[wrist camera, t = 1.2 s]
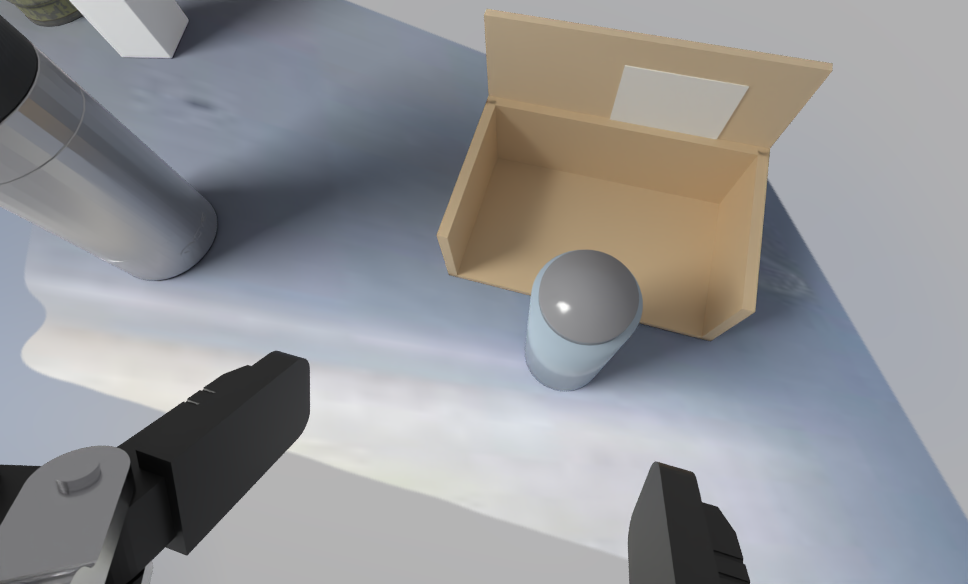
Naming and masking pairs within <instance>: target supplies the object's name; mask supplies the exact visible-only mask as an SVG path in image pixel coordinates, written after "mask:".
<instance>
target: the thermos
mask: <svg viewBox="0 0 968 584" xmlns="http://www.w3.org/2000/svg"><path fill="white" fill-rule="evenodd" d="M7 1H9V2H11V3H12V4H14V5H15V6H17V7H18V8H19V9H20V10H21V11H22V12H23V13H24V14H25V16H26V17H27V18H28V19H29V20H30V21H32V22H34V23H35V24H37V25H41V26H47V27H49V26H59V25H62V24H66V23H69V22H71V21H73V20H75V19H77V18H79V17H81V16H83V15H82V14H81V13H80V11H79V10H78V9H77V8H76V7H75V6H74V5H73V4H72V3H71V2H70V1H69V0H7Z"/></svg>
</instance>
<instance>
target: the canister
mask: <svg viewBox="0 0 968 584" xmlns="http://www.w3.org/2000/svg"><path fill="white" fill-rule="evenodd" d="M642 309H643V299H642V293H641V290H640V287H639V285H638V282H637V280H636V279H635V277H634V276H633V274H632V273H631V272H630V270H629V269H628V268H627V267H626V266H625V265H624V264H623V263H622V262H620V261H619V260H618V259H616V258H614V257H613V256H611V255H609V254H606V253H604V252H600V251H595V250H574V251H569V252H566V253H563V254H560V255H558V256H556V257H555V258H553V259H551V260H550V261H549V262H548V263H546V264H545V265H544V267H543V268H542V269H541V270H540V272H539V273H538V275H537V276H536V278H535V281H534V283H533V287H532V292H531V300H530V308H529V317H528V325H527V334H526V343H525V360H526V363H527V366H528V368H529V370H530V372H531V374H532V375H533V376H534V377H535V378H536V380H538V381H539V382H540V383H541V384H543V385H544V386H546V387H548V388H551V389H553V390H558V391H572V390H576V389H579V388H581V387H583V386H585V385H586V384H588V383H589V382H590V381H591V380H592V379H593V378H594V377H595V376H596V375H597V374H598V372H599V371H600V370H601V369H602V368H603V367H604V366H605V365H606V363H607V362H608V361H609V360H610V359H611V358H612V357H613V355H614V354H615V353H616V352H617V351H618V350H619V349H620V348H621V346H622V345H623V344H624V343H625V342H626V341H627V340H628V338H629V337H630V336H631V335H632V334H633V333H634V331H635V330H636V328H637V326H638V324H639V322H640V319H641V315H642Z"/></svg>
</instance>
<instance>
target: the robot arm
mask: <svg viewBox="0 0 968 584" xmlns="http://www.w3.org/2000/svg"><path fill="white" fill-rule="evenodd" d="M0 207H2V208H4V209H6V210H8V211H10V212H12V213H14V214H16V215H18V216H20V217H21V218H23V219H25V220H27V221H29V222H31V223H33V224H35V225H37V226H39V227H40V228H42V229H44V230H46V231H48V232H50V233H52V234H54V235H56V236H58V237H60V238H62V239H64V240H65V241H67V242H69V243H71V244H73V245H75V246H77V247H79V248H81V249H83V250H85V251H87V252H89V253H90V254H92V255H94V256H96V257H98V258H100V259H102V260H103V261H105V262H107V263H109V264H111V265H113V266H115V267H117V268H119V269H121V270H123V271H125V272H127V273H128V274H130V275H132V276H134V277H137V278H140V279H143V280H154V281H155V280H163V279H168V278H171V277H174V276H177V275H179V274H181V273H183V272H185V271H187V270H188V269H189V268H191V267H192V266H194V265H195V264H196V263H197V262H198V261H199V260H200V259H201V258H202V257H203V256H204V255H205V254H206V252H207V251H208V250H209V248H210V247H211V245H212V243H213V240H214V238H215V235H216V230H217V216H216V213H215V210H214V208H213V207H212V205H211V204H210V203H209V202H208V201H207V200H206V199H205V198H204V197H203V196H202V195H201V194H200V193H198V192H197V191H196V190H195V189H194V188H193V187H192V186H191V185H190V184H189V183H187V182H186V181H185V180H184V179H183V178H182V177H181V176H180V175H179V174H178V173H177V172H176V171H174V170H173V169H172V168H171V167H170V166H169V165H168V164H167V163H166V162H164V161H163V160H162V159H161V158H160V157H159V156H158V155H157V154H156V153H154V152H153V151H152V150H151V149H150V148H149V147H148V146H147V145H146V144H144V143H143V142H142V141H141V140H140V139H139V138H138V137H137V136H136V135H134V134H133V133H132V132H131V131H130V130H129V129H128V128H127V127H125V126H124V125H123V124H122V123H121V122H120V121H119V120H118V119H117V118H115V117H114V116H113V115H112V114H111V113H110V112H109V111H108V110H107V109H105V108H104V107H103V106H102V105H101V104H100V103H99V102H98V101H97V100H95V99H94V98H93V97H92V96H91V95H90V94H89V93H88V92H86V91H85V90H84V89H83V88H82V87H81V86H80V85H79V84H78V83H76V82H75V81H74V80H73V79H72V78H71V77H69V76H68V75H67V74H66V73H65V72H64V71H63V70H62V69H61V68H59V67H58V66H57V65H56V64H55V63H54V62H53V61H52V60H50V59H49V58H48V57H47V56H46V55H45V54H44V53H43V52H42V51H40V50H39V49H38V48H37V47H36V46H35V45H34V44H33V43H32V42H30V41H29V40H28V39H27V38H26V37H25V36H24V35H22V34H21V33H20V32H19V31H18V30H17V29H16V28H14V27H13V26H12V25H11V24H10V23H9V22H8V21H6V20H5V19H4V18H3V17H2V16H1V15H0ZM309 414H310V367H309V363H308V361H307V360H306V359H304V358H301V357H297V356H294V355H290V354H287V353H283V352H280V351H273V352H271V353H269V354H268V355H266V356H265V357H264V358H262V359H261V360H259V361H258V362H257V363H255V364H254V365H253V366H249V365H246V366H244V367H241V368H238V369H236V370H233V371H230V372H228V373H225V374H223V375H221V376H220V377H218V378H217V379H216V380H214V381H213V382H211V383H210V384H208V385H207V386H205V387H204V389H203V391H198V392H197V393H195V394H194V395H192V396H191V397H189V398H188V399H187V401H186V402H182V403H181V404H179V405H178V406H176V407H175V408H173V409H172V410H170V411H169V412H168V413H166V414H165V415H163V416H162V417H160V418H159V419H158V420H156V421H155V422H153V423H152V424H150V425H149V426H147V427H146V428H144V429H143V430H141V431H140V432H138V433H137V434H136V435H134V436H133V437H131V438H130V439H128V440H127V441H125V442H124V443H123V444H121V445H119V446H118V447H112V446H92V447H86V448H81V449H78V450H74V451H71V452H68V453H66V454H63V455H61V456H59V457H57V458H55V459H53V460H51V461H49V462H47V463H46V464H44V465H43V466H23V465H0V584H150V580H151V575H152V571H153V563H152V560H153V559H154V558H155V557H156V556H157V555H158V554H159V552H161V551H162V550H163V549H164V548H165V547H166V548H169V549H171V550H174V551H177V552H179V553H182V554H184V555H188V554H189V553H190V552H191V551H192V550H193V549H194V548H195V547H196V546H197V544H198V543H199V542H200V541H201V540H202V539H203V538H204V537H205V536H206V535H207V534H208V533H209V532H210V531H211V530H212V529H213V527H214V526H215V525H216V524H217V523H218V522H219V521H220V520H221V519H222V518H223V517H224V516H225V515H226V514H227V513H228V512H229V510H231V509H232V507H233V506H234V505H235V504H236V503H237V502H238V501H239V500H240V499H241V498H242V497H243V496H244V495H245V494H246V493H247V492H248V490H250V488H251V487H252V486H253V485H254V484H255V483H256V482H257V481H258V480H259V479H260V478H261V477H262V476H263V475H264V474H265V472H267V470H268V469H269V468H270V467H271V466H272V465H273V464H274V463H275V462H276V461H277V460H278V459H279V458H280V457H281V456H282V454H283V453H284V452H285V451H286V450H287V449H288V448H289V447H290V446H291V445H292V444H293V443H294V442H295V441H296V440H297V439H298V438H299V436H300V435H301V434H302V432H303V431H304V429H305V427H306V424H307V422H308V419H309ZM628 559H629V583H630V584H750V579H749V576H748V573H747V569H746V566H745V564H743V556H742V552H741V549H740V546H739V542H738V539H737V536H736V532H735V531H734V530H733V528H732V527H731V525H730V524H729V522H728V521H727V519H726V518H725V517H724V515H723V514H722V512H721V511H720V509H719V508H718V507H716V506H713V505H710V504H706V503H703V502H702V501H701V496H700V492H699V488H698V483H697V479H696V476H695V474H694V473H693V472H691V471H687V470H684V469H680V468H677V467H673V466H670V465H667V464H663V463H660V462H654V463H653V464H652V466H651V468H650V470H649V473H648V476H647V478H646V481H645V483H644V486H643V488H642V491H641V493H640V496H639V498H638V501H637V503H636V506H635V508H634V511H633V514H632V517H631V521H630V527H629V534H628Z"/></svg>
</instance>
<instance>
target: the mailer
mask: <svg viewBox="0 0 968 584" xmlns="http://www.w3.org/2000/svg"><path fill="white" fill-rule="evenodd" d="M484 22H485V40H486V57H487V74H488V92H489V96H488V99H487V102H486V104H485V107H484V110H483V112H482V115H481V118H480V120H479V123H478V126H477V128H476V131H475V134H474V136H473V139H472V142H471V144H470V147H469V150H468V152H467V155H466V158H465V161H464V163H463V166H462V169H461V171H460V174H459V177H458V179H457V182H456V185H455V187H454V190H453V193H452V195H451V198H450V201H449V203H448V206H447V209H446V211H445V214H444V217H443V220H442V222H441V225H440V228H439V230H438V233H437V238H438V241H439V245H440V248H441V251H442V254H443V257H444V261H445V264H446V267H447V270H448V273H449V275H452V276H455V277H459V278H463V279H467V280H471V281H475V282H479V283H483V284H487V285H491V286H495V287H499V288H503V289H507V290H511V291H515V292H518V293H522V294H526V295H530V296H531V292H532V287H533V283H534V281H535V278H536V276H537V275H538V273H539V272H540V270H541V269H542V268H543V267H544V265H545V264H546V263H548V262H549V261H550V260H551V259H553V258H555V257H556V256H558V255H560V254H563V253H566V252H569V251H574V250H595V251H600V252H604V253H606V254H609V255H611V256H613V257H614V258H616V259H618V260H619V261H620V262H622V263H623V264H624V265H625V266H626V267H627V268H628V269H629V270H630V272H631V273H632V274H633V276H634V277H635V279H636V280H637V282H638V285H639V287H640V290H641V293H642V299H643V309H642V315H641V319H640V322H639V323H641V324H645V325H649V326H652V327H656V328H660V329H664V330H668V331H672V332H676V333H680V334H684V335H688V336H692V337H696V338H700V339H704V340H708V341H712V340H713V339H715V338H716V337H718V336H719V335H721V334H722V333H724V332H725V331H727V330H728V329H730V328H731V327H733V326H734V325H736V324H738V323H739V322H741V321H742V320H744V319H745V318H747V317H748V316H750V315H751V314H753V313H754V312H755V307H756V296H757V285H758V274H759V264H760V253H761V242H762V231H763V220H764V209H765V198H766V187H767V176H768V165H769V154H770V148H771V147H772V145H773V144H774V143H775V142H776V140H777V139H778V138H779V137H780V135H781V134H782V133H783V132H784V130H785V129H786V128H787V127H788V125H789V124H790V123H791V122H792V120H793V119H794V118H795V117H796V116H797V114H798V113H799V112H800V110H801V109H802V108H803V107H804V105H805V104H806V103H807V102H808V100H809V99H810V98H811V97H812V95H813V94H814V93H815V92H816V91H817V89H818V88H819V87H820V86H821V84H822V83H823V82H824V81H825V79H826V78H827V77H828V76H829V74H830V73H831V72H832V66H833V64H832V63H826V62H820V61H814V60H807V59H801V58H794V57H787V56H782V55H775V54H769V53H763V52H756V51H750V50H743V49H738V48H731V47H725V46H719V45H712V44H706V43H699V42H693V41H687V40H681V39H674V38H667V37H662V36H655V35H648V34H643V33H636V32H629V31H623V30H617V29H610V28H604V27H598V26H592V25H585V24H579V23H572V22H567V21H560V20H554V19H548V18H541V17H535V16H529V15H522V14H516V13H509V12H503V11H497V10H490V9H487V10H486V12H485V14H484Z"/></svg>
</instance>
